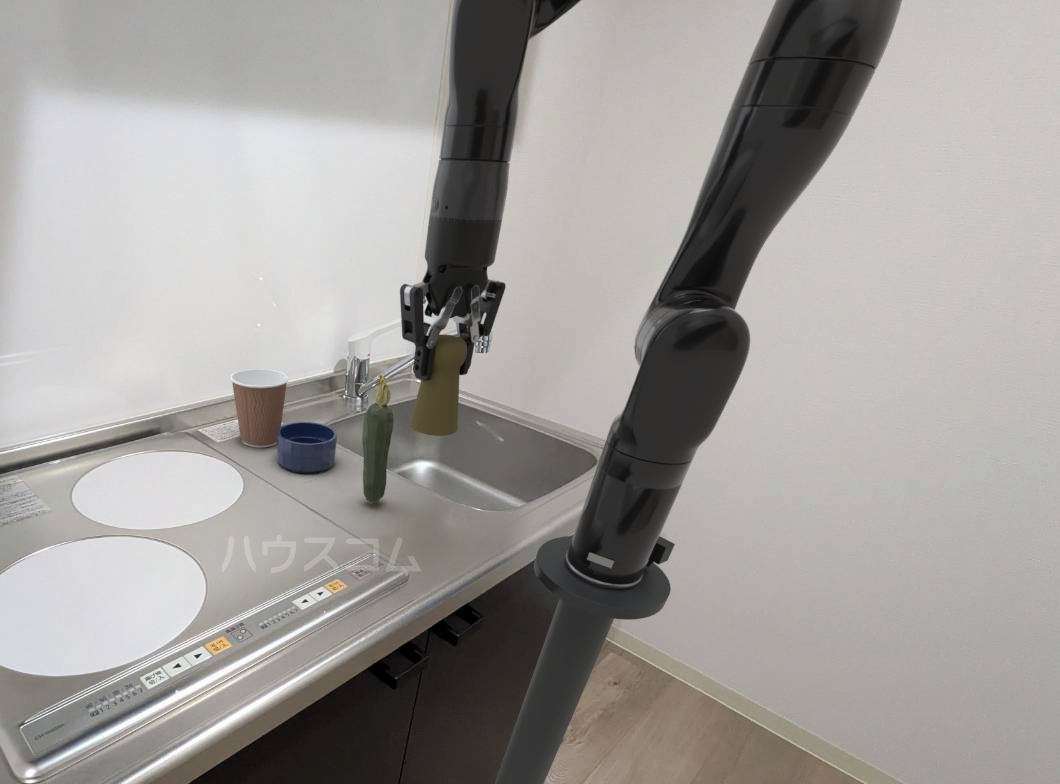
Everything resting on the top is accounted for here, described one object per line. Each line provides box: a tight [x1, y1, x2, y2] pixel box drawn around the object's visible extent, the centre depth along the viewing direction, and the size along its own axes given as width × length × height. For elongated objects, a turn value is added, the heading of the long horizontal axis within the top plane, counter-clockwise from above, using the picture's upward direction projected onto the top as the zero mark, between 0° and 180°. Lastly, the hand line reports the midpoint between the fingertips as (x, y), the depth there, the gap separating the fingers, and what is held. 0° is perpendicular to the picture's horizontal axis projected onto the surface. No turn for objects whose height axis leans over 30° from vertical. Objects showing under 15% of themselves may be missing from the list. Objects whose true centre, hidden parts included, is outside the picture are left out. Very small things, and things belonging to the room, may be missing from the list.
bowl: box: [276, 421, 338, 474], centre depth 101 cm, size 10×10×6 cm
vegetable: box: [361, 374, 395, 505], centre depth 85 cm, size 4×4×20 cm
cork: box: [409, 334, 467, 437], centre depth 70 cm, size 6×6×11 cm
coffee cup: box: [229, 368, 290, 449], centre depth 106 cm, size 10×10×12 cm
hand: (441, 375), depth 70 cm, fingers closed on cork, 5 cm apart
